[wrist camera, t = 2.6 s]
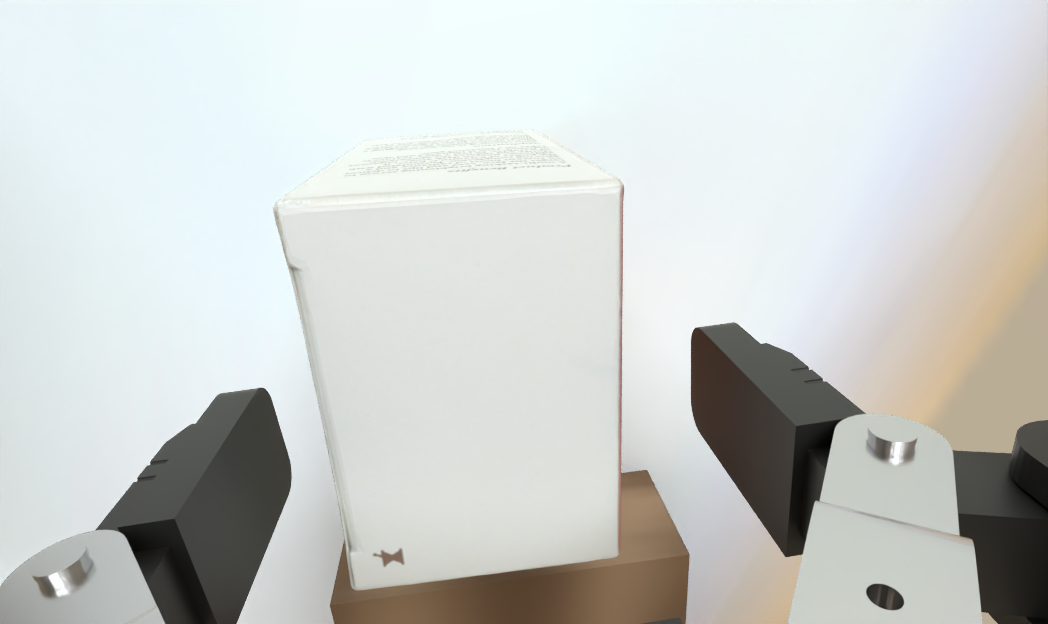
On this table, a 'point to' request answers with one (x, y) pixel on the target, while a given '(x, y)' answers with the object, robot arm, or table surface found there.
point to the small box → (464, 351)
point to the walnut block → (548, 582)
